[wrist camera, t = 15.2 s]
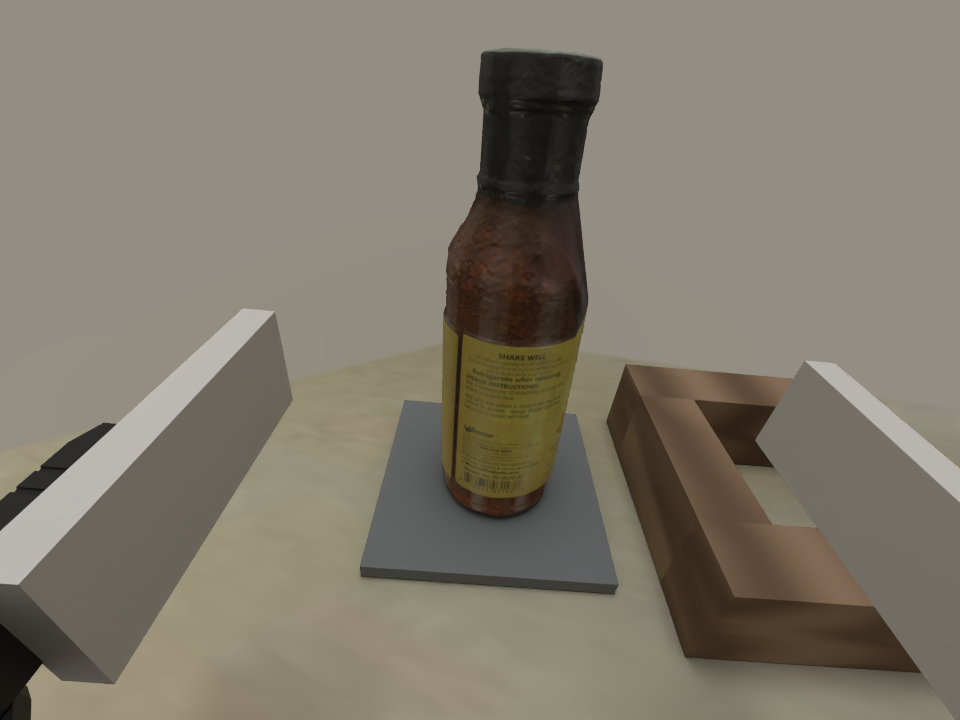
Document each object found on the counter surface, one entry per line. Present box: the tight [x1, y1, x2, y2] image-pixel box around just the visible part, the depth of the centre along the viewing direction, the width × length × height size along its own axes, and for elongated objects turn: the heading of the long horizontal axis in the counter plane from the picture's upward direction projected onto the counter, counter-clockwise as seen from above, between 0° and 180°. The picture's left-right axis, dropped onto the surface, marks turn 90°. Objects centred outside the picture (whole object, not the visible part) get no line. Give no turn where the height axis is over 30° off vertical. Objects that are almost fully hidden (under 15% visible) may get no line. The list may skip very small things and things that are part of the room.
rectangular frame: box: [607, 364, 921, 672], centre depth 23 cm, size 15×15×5 cm
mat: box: [360, 400, 618, 594], centre depth 25 cm, size 12×12×1 cm
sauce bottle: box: [441, 48, 603, 516], centre depth 19 cm, size 6×6×20 cm
